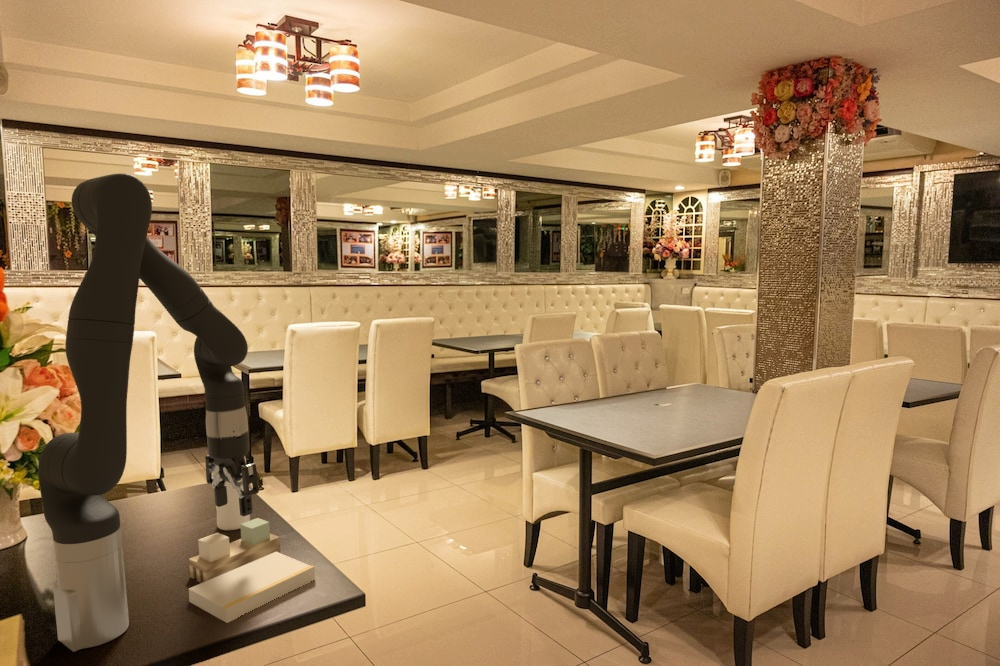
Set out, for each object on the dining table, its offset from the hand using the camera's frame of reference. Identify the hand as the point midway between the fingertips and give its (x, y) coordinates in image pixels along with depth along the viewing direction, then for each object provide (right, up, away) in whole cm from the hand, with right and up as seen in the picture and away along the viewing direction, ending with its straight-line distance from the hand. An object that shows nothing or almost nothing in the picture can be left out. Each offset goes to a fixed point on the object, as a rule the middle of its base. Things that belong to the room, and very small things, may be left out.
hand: (233, 510), depth 130 cm
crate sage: (+3, -7, +4) cm, 9 cm away
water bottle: (-9, -9, +21) cm, 25 cm away
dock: (+8, -12, -9) cm, 17 cm away
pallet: (0, -12, +1) cm, 12 cm away
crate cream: (-2, -8, -3) cm, 9 cm away
